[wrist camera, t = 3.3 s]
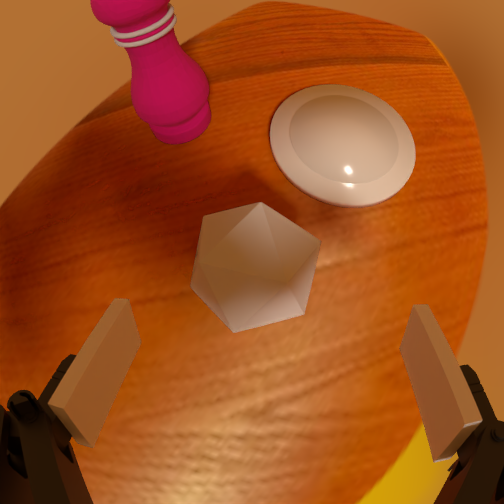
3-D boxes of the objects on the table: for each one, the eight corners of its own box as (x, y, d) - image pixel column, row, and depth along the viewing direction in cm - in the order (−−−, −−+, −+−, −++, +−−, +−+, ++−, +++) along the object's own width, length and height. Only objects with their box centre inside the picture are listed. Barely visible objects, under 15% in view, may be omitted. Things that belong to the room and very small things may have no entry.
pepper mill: (188, 87, 32) (138, -70, 13) (230, 118, 30) (192, -69, 11) (136, 125, 31) (53, -26, 12) (173, 162, 29) (83, -21, 10)
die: (261, 208, 28) (170, 185, 21) (352, 225, 23) (273, 199, 15) (242, 299, 29) (149, 305, 21) (326, 333, 23) (239, 360, 16)
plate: (270, 207, 27) (269, 201, 26) (269, 89, 31) (269, 81, 30) (424, 210, 26) (428, 205, 25) (395, 96, 30) (398, 89, 29)
